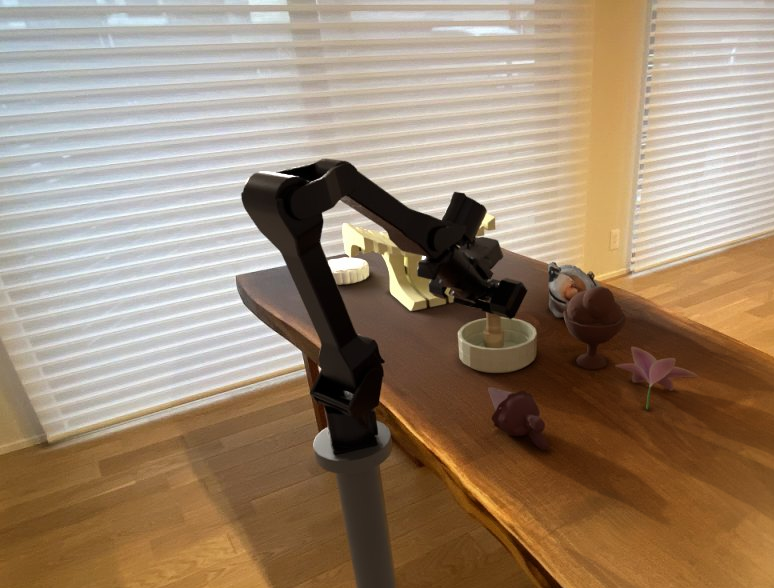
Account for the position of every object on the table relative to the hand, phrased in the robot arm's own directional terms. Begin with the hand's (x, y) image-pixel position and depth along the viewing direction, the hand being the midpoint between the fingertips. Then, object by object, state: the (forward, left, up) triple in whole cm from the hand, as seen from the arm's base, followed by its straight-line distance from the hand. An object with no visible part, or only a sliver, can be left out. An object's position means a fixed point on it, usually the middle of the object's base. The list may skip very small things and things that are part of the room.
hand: (497, 310), depth 113 cm
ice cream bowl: (+14, -11, -9) cm, 20 cm away
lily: (+17, -26, -9) cm, 32 cm away
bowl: (-1, -2, -8) cm, 9 cm away
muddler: (-1, -1, -7) cm, 7 cm away
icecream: (-8, -26, -9) cm, 29 cm away
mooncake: (-20, +55, -9) cm, 59 cm away
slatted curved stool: (-5, +35, -9) cm, 36 cm away
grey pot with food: (+22, +10, -9) cm, 26 cm away
